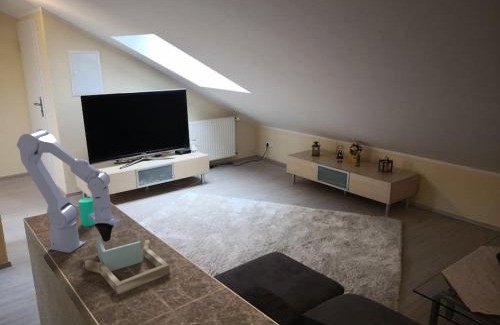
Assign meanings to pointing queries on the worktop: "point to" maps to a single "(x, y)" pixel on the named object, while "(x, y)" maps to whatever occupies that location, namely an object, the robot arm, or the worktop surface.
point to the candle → (86, 211)
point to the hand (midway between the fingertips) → (106, 240)
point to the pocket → (136, 280)
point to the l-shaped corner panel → (119, 255)
